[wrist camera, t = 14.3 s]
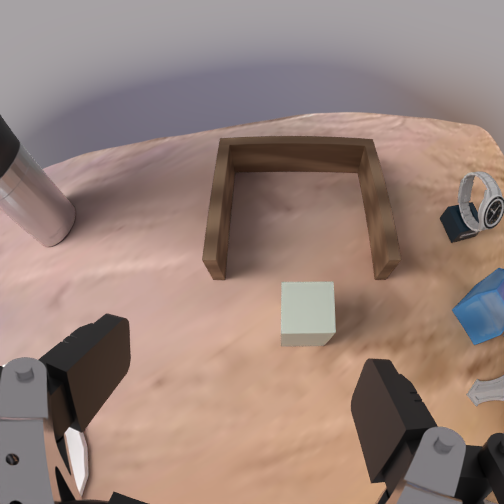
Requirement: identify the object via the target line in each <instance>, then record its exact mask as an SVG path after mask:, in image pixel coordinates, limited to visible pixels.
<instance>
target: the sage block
mask: <svg viewBox="0 0 504 504" xmlns="http://www.w3.org/2000/svg"><path fill="white" fill-rule="evenodd" d="M335 333H336V329H335V303H334V284H333V282H282V295H281V346H324V345H325V344H326V343H327V342H328V341H329V340H330V339H331V337H332V336H333V335H334V334H335Z"/></svg>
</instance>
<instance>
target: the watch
mask: <svg viewBox="0 0 504 504" xmlns="http://www.w3.org/2000/svg"><path fill="white" fill-rule="evenodd" d="M475 176H477V177H479V178H480V179H481V180H482V181H483V183H484V184H485V185H486V188H487V190H485V193H484V199H483V200H482V203H481V204H480V207H479V210H478V212H477V210H476V208H475V206H474V204H473V203H472V202H470V203H469V201H470V197H471V190H472V186H473V180H474V177H475ZM458 203H459V205H455V206H450V207H447V209H446V210H445V212H444V213H443V214H442V216H441V217H440V220H441V222H442V224H443V226H444V228H445V230H446V232H447V235H448V237H449V239H450V241H451V243H453V242H457V241H460V240H464V239H467V238H471V237H475V236H476V235H477V234H478V233H479V232H480V231H482V230H486V229H492V228H494V227H495V226H496V225H497V224H498V223H499V222H500V220H501V218H502V216H503V214H504V199H503V197H502V193H501V190H500V188H499V187H498V185H497V183H496V181H495V180H494V179H493V178H492V177H491V176H490V175H489V174H487V173H485V172H472V173H468V174H467V175H465V176H464V178H463V179H462V180H461V183H460V187H459V193H458Z"/></svg>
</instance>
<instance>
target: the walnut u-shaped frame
mask: <svg viewBox="0 0 504 504" xmlns="http://www.w3.org/2000/svg"><path fill="white" fill-rule="evenodd" d="M283 171H300V172H347V173H358V177H359V182H360V187H361V192H362V197H363V202H364V208H365V214H366V220H367V226H368V232H369V239H370V246H371V253H372V260H373V269H374V277H375V280H386V278H387V277H388V276H389V275H390V273H391V272H392V271H393V270H394V269H395V267H396V266H397V265H398V264H399V262H400V261H401V255H400V250H399V244H398V239H397V233H396V228H395V224H394V219H393V214H392V210H391V205H390V201H389V197H388V193H387V189H386V185H385V181H384V177H383V173H382V169H381V166H380V162H379V159H378V155H377V152H376V149H375V145H374V142H373V139H361V138H344V137H316V136H265V137H237V138H220V142H219V148H218V154H217V160H216V166H215V172H214V179H213V185H212V192H211V198H210V205H209V212H208V219H207V227H206V234H205V242H204V250H203V258H202V260H203V262H204V264H205V266H206V268H207V269H208V271H209V273H210V275H211V276H212V278H213V280H225V275H226V263H227V251H228V240H229V229H230V219H231V208H232V198H233V188H234V178H235V172H283Z"/></svg>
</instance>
